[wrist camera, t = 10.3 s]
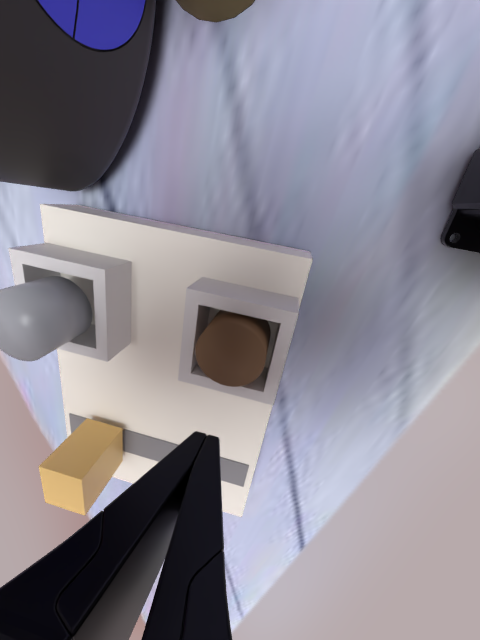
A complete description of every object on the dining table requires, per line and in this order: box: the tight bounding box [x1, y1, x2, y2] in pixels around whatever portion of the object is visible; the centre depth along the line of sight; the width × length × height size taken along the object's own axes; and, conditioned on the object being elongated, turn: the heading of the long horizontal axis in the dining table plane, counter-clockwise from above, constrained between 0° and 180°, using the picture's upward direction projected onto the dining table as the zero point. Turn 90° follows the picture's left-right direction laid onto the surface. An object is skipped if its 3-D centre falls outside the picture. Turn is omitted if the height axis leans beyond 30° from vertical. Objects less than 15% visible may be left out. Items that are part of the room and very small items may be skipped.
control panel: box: [9, 204, 313, 517], centre depth 20 cm, size 16×22×6 cm
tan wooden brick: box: [39, 418, 123, 515], centre depth 20 cm, size 3×4×4 cm
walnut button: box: [195, 310, 271, 387], centre depth 15 cm, size 4×4×3 cm
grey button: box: [0, 276, 92, 361], centre depth 14 cm, size 4×4×3 cm
